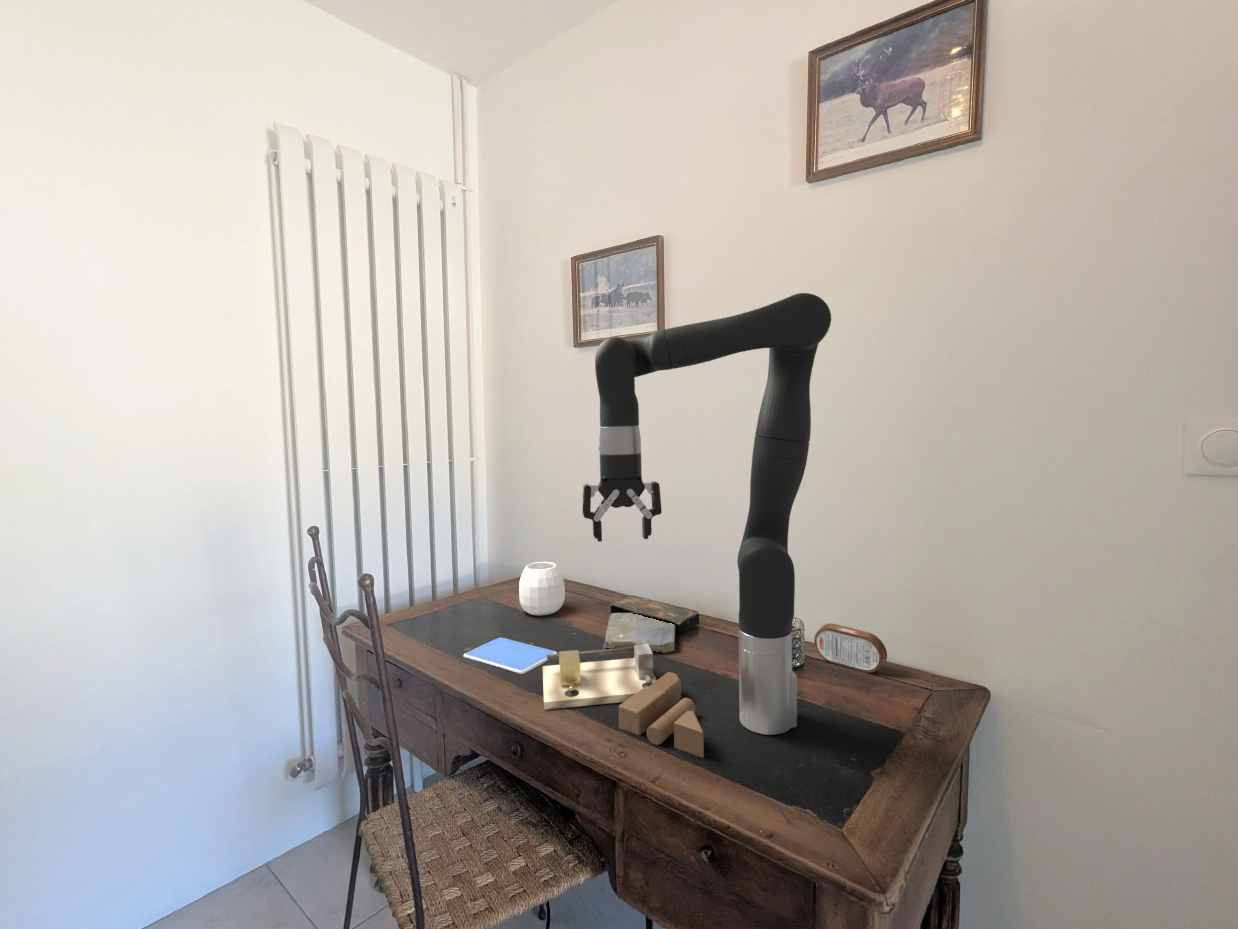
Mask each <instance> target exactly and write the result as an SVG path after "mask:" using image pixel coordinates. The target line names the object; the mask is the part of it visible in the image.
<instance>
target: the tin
mask: <svg viewBox="0 0 1238 929" xmlns="http://www.w3.org/2000/svg"><path fill="white" fill-rule="evenodd" d="M814 645H815V647H814V648H815V649H816V651H817V653H818V654H819V655H820V657H822V658H823V659H824V660H825V661H826V662H830V663H831V664H835V665H839V666H842V667H846V668H849V669H853V670H856V671H859V672H863V673H869V674H870V673H874V672H877V671H878V670H880V669H881V668H882V667H883V666H884V665H885V664H886V662H887V659H888V651H887V648H886V646H885V644H884V643H883V641H882V640H881V639H880V638H879V637H878V636H876V635H875V634H873V633H872V632H870V631H869V632H868V631H865V630H861V629H858V628H857V629H856V628H853V627H848V626H844V625H841V624H837V623H826V624H824V625H822V626H821V627H820V628H819V629H818V630H817V631H816V632H815V635H814Z"/></svg>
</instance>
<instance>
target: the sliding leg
mask: <svg viewBox="0 0 1238 929" xmlns="http://www.w3.org/2000/svg"><path fill="white" fill-rule="evenodd" d="M578 652H579V649H576V650H575V649H574V650H562V651H558V654H559V659H558V660H559V661H558V662H559V663H558V665H559V667H560V682H561V686H563V685H569V690H570V691H571V692H572V691H574V686H573V685H574V684H581V679H580V663H581V659H580V657H579V653H578Z"/></svg>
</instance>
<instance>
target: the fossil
mask: <svg viewBox="0 0 1238 929" xmlns="http://www.w3.org/2000/svg"><path fill="white" fill-rule="evenodd" d="M633 613H634V612H612V613H610V616H609V618H608V622H607V626H606V627H607V628H606V632H605V638H604V641H605V642H604V643H603V648H604V647H605V648H629V647H634V645H642V644H648V645H649V647H650V649H651V651H652V652H653V651H656V652H655V653H659V652H662V654H666V653H671V652H674V651H675V639H676V637H675V636H676V624H675V625H674V624H672V623H666V622H663V621H659V620H656V619H653V618H648V617H644V616H642V615H638V614H633ZM667 613H668V614H670V615H672V616H675V615H674V614H673V613H671V612H667Z"/></svg>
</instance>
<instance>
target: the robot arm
mask: <svg viewBox="0 0 1238 929" xmlns="http://www.w3.org/2000/svg"><path fill="white" fill-rule="evenodd" d="M829 307H830V306H828V304H827V302H826V301H825V300H824V299H823V298H821V297H820V296H817V295H815V294H813V293H809V292H800V293H799V292H798V293H795V294H792V295H790V296H788V297H786V298H783V299H780V300H778V301H776V302H773V303H770V304H768V305H765V306H762V307H759V308H755V309H752V310H750V311H746V312H743V313H739V314H735V315H730V316H728V317H727V316H726V317H722V318H716V319H711V320H707V321H701V322H695V323H690V324H685V325H679V326H674V327H670V328H666V329H660V330H657V331H655V332H652V333H651V334H650V335H648V336H644V337H643V336H642V337H639V338H634V339H628V340H626V339H623V338H621V337H617V336H613V337H609V338H606V339H604V340H602V342H601V343H600V344H599V345H598V347H597V350H596V352H595V358H594V359H595V360H594V370H595V377H596V384H597V391H598V396H599V428H600V429H599V430H600V431H599V439H598V440H599V442H598V443H599V446H598V451H599V473H600V474H599V476H600V477H599V478H600V479H599V483H598V484H597V485H596V484H593V485H592V484H588V483H585V484H583V487H582V516H583V518H585V519H588V520H590V521H592V533H593V534H592V535H593V537H594V539H596V540H597V542H599V543H600V542H601V543H602V542H603V532H602V531H603V530H602V529H603V527H602V526H603V525H602V520H601V519H602V517H604V515H605V514H606V512H607V511H608V510H609V509H610V508H611V507H612V508H613V509H617V508H621V507H624V508H631V507H632V506H634V505H635V507H636V508H637V509H638V510H639V511H640V513H641V514H642V516H643V517H641V523H642V524H641V529H642V530H641V532H642V539H644V540H649V537H651V535H652V534H653V533H652V519H653V517H655V516H659V515H661V514H662V513H663V512H662V499H661V498H662V497H661V487H660V486H661V485H660V484H659V482H657V481H656V480H653V481H650V482H644V481H643V475H642V440H641V439H642V438H641V432H640V415H639V414H640V412H639V410H640V408H639V401H638V397H637V395H636V387H635V386H636V384H635V381H636V380H635V378H638V377H642V376H645V375H648V374H653V373H656V372H660V371H669V370H674V369H679V368H680V369H681V368H686V367H691V366H694V365H699V364H703V363H707V362H712V361H715V360H717V359H721V358H724V357H727V356H730V355H735V354H738V353H743V352H747V351H749V352H750V351H753V350H762V349H769V350H768V351H769V355H768V369H767V370H768V372H767V380H766V385H765V389H764V393H763V396H762V401H761V404H760V409H759V413H758V418H757V423H756V427H755V428H756V429H755V433H754V440H753V448H752V457H751V468H750V469H751V470H750V483H749V484H750V485H749V488H750V489H749V508H748V512H747V513H748V514H747V519H746V522H745V523H746V524H745V527H744V532H743V536H742V540H741V542H740V547H739V550H738V553H737V568H738V579H739V580H738V581H739V582H738V587H739V588H738V590H739V591H738V592H739V593H738V594H739V596H738V597H739V598H738V600H739V603H738V604H739V609H738V677H739V678H738V686H739V687H738V690H739V691H738V692H739V695H738V696H739V702H738V703H739V704H738V706H739V707H738V709H739V710H738V711H739V722H740V724H741V725H742V726H743V727H744V728H746V729H747V730H749V731H751V732H754V733H756V734H760V735H766V736H767V735H769V736H772V735H780V734H784V733H787V732H788V731H789V730H790V729H793V728H797V727H798V726H797V725H798V724H797V722H798V707H797V706H798V704H797V703H798V697H797V696H798V683H797V682H798V679H797V678H798V676H797V674H796V673H795V672H794V671H793V621H794V618H795V598H796V597H795V595H796V594H795V593H796V591H795V587H796V582H795V580H796V575H795V574H796V573H795V566H794V561H793V560H792V558H791V555H790V554H789V551H788V550H789V548H788V547H789V544H788V543H789V527H790V519H791V518H790V517H791V514H792V513H791V512H792V508H793V505H794V502H795V499H796V497H797V495H798V492H799V489H800V487H801V483H802V481H803V478H804V474H805V470H806V467H807V462H808V457H809V456H808V455H809V447H810V441H811V429H812V426H811V424H812V423H811V422H812V420H811V416H812V414H811V413H812V412H811V393H810V390H811V388H810V386H811V378H812V372H813V367H814V363H815V362H814V361H815V357H816V354H817V350H818V346H819V343H820V342H822V340H824V338H825V337H826V335H827V334H828V332H829V330H830V327H831V325H832V324H831V323H832V313H831V310H830V308H829ZM645 490H646V491H647V493H648V494H649V495H650V497H651V507H652V508H647V505H646V504H644V502H643V500H641V499H640V497H641V496H642V494H643V492H644V491H645ZM597 492H598V493H599V494H600V495H601V497H602V500H601V501H600V503H599V504H598V506H597V507H596V509H595V511H591V509H592V508H591V506H592V504H591V503H592V501H591V500H592V498H594V497H595V495H596V493H597Z"/></svg>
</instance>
